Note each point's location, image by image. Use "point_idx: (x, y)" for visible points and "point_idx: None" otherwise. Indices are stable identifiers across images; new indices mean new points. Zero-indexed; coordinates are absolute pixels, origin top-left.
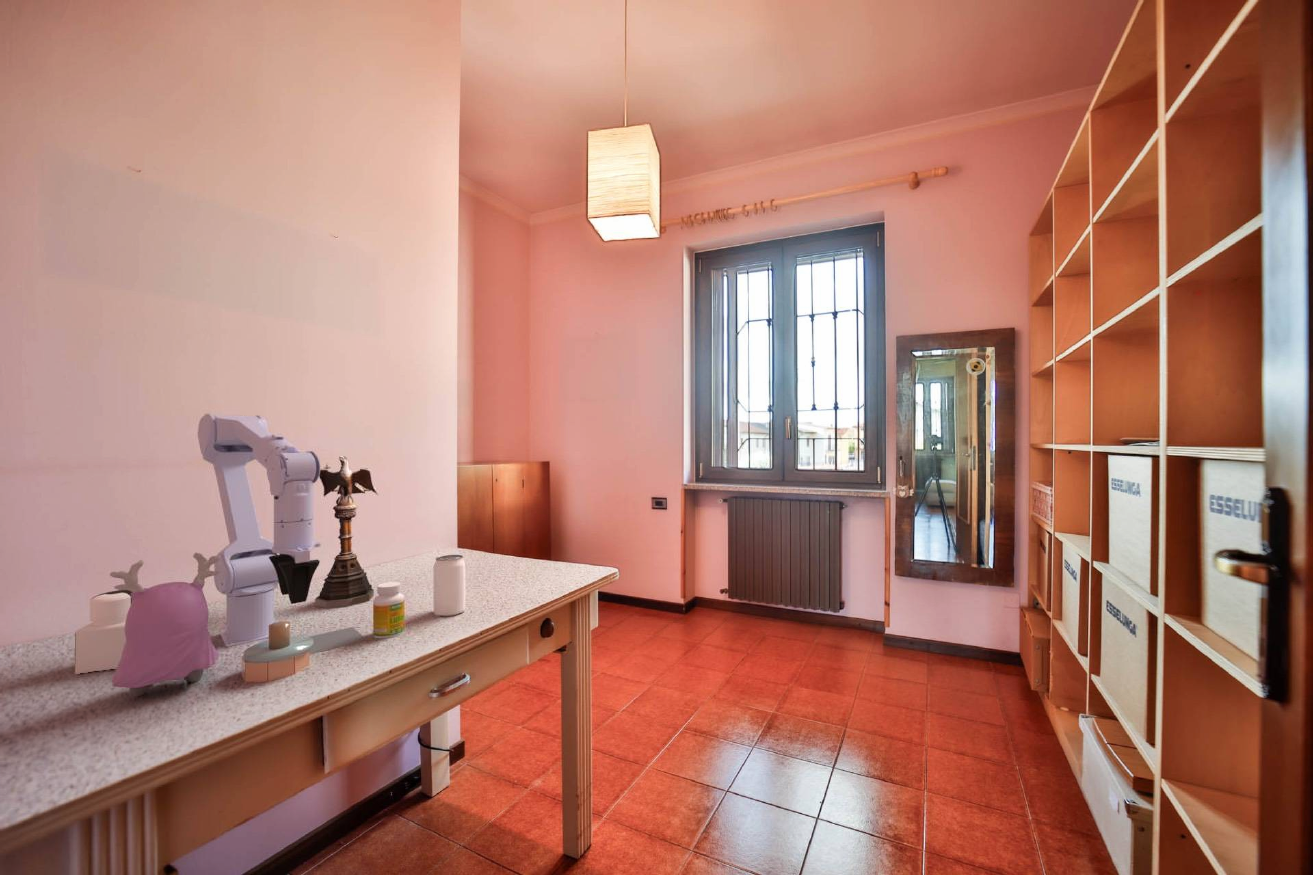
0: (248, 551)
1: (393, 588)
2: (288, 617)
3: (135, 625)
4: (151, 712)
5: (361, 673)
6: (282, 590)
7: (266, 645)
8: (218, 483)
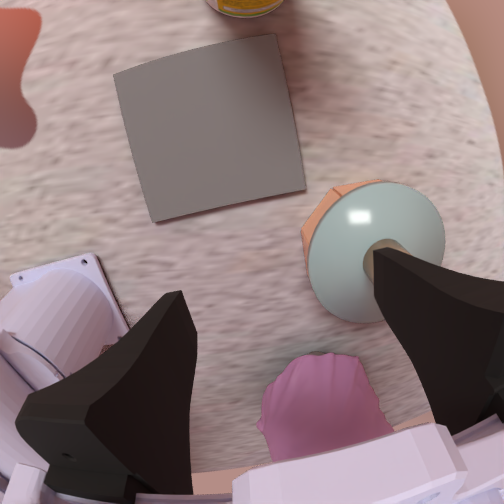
0: None
1: None
2: None
3: None
4: (392, 368)
5: (470, 98)
6: (196, 347)
7: (354, 287)
8: None
